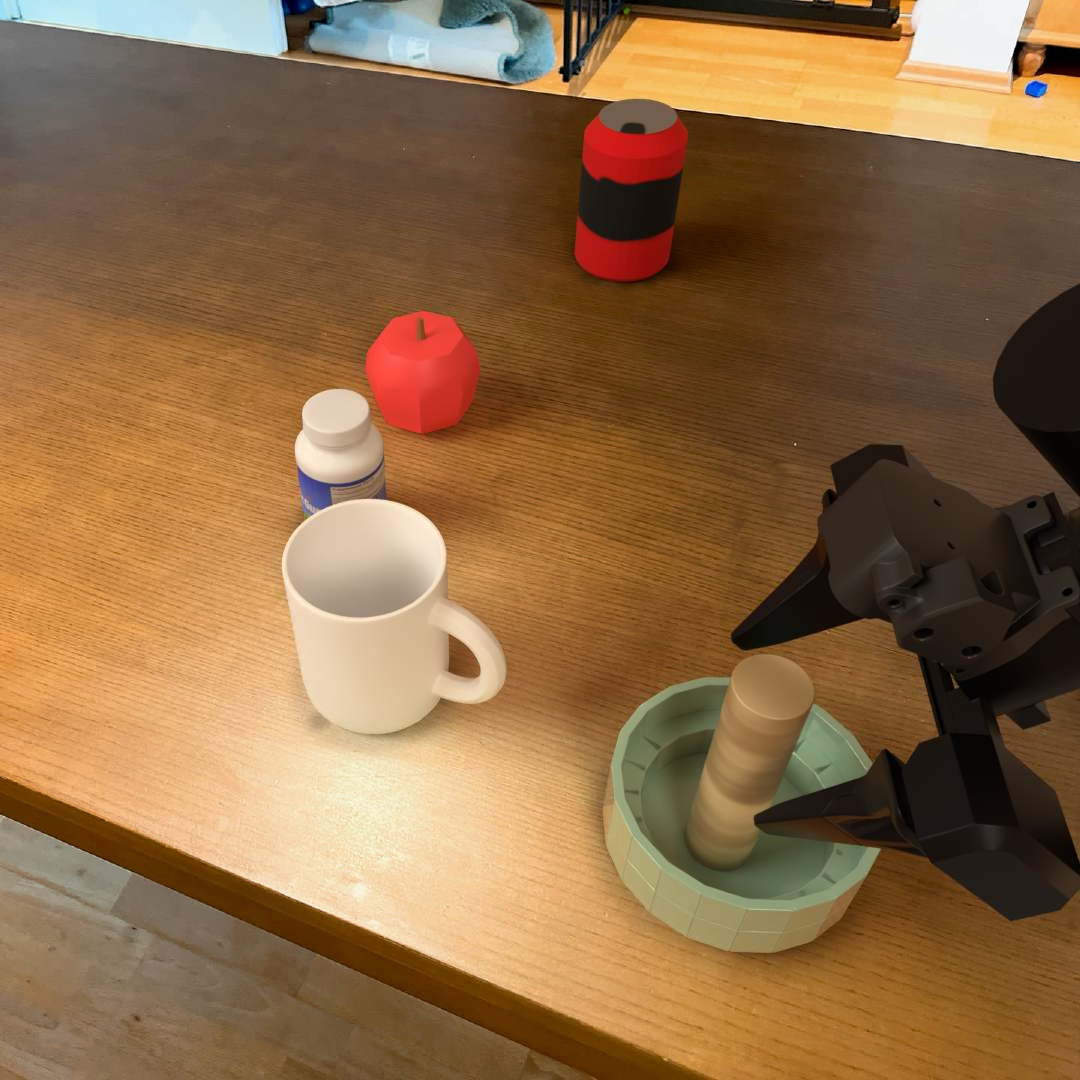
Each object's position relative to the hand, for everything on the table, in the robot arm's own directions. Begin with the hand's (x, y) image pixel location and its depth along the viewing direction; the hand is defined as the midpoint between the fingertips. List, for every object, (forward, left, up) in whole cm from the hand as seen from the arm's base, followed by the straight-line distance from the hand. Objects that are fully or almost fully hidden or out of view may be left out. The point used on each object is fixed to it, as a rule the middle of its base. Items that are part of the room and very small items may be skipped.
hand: (746, 728), depth 46 cm
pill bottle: (+25, -14, -10) cm, 31 cm away
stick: (0, 0, -9) cm, 9 cm away
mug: (+17, -3, -10) cm, 20 cm away
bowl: (-1, 0, -9) cm, 10 cm away
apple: (+24, -26, -10) cm, 37 cm away
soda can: (+15, -49, -10) cm, 52 cm away
